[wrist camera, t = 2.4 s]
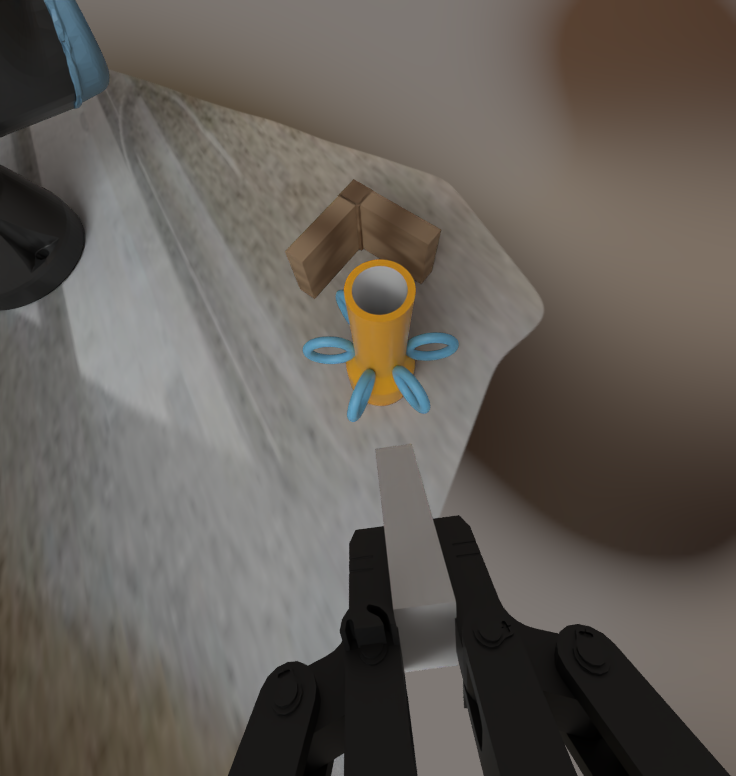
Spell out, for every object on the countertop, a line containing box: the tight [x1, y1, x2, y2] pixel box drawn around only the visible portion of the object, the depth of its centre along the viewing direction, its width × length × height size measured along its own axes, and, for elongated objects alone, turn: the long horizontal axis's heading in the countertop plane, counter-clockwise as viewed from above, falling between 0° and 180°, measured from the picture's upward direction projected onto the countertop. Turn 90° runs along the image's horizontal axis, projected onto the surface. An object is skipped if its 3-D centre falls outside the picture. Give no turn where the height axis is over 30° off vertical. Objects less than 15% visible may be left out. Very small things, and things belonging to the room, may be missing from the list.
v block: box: [285, 179, 441, 299], centre depth 35 cm, size 9×14×6 cm, turn 98°
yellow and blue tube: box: [303, 259, 459, 422], centre depth 26 cm, size 12×10×15 cm
